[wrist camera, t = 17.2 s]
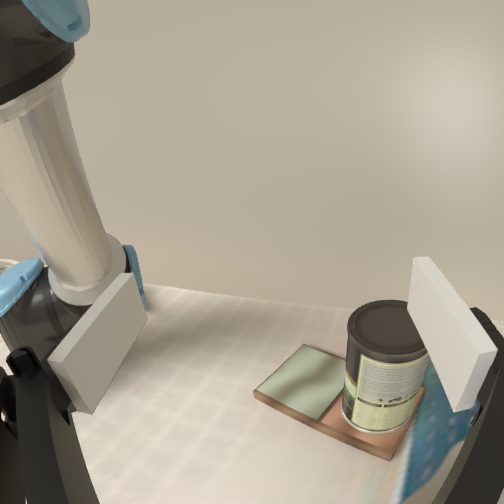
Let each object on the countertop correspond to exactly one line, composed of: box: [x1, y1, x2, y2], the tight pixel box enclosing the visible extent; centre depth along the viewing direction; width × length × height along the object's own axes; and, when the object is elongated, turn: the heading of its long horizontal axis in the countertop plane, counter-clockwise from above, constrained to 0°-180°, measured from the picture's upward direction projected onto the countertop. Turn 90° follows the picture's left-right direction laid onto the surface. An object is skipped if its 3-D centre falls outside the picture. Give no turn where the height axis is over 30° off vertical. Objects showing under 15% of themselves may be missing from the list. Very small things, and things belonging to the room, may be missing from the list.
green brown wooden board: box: [253, 344, 427, 461], centre depth 42 cm, size 22×13×2 cm, turn 49°
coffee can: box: [341, 300, 430, 435], centre depth 35 cm, size 10×10×14 cm
